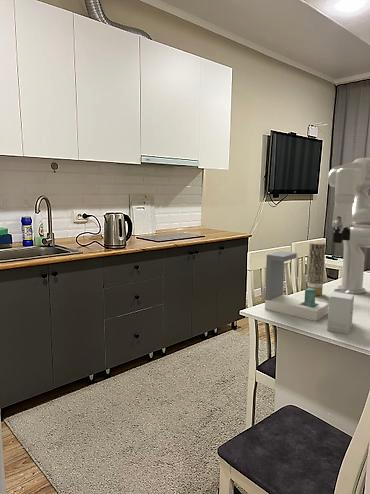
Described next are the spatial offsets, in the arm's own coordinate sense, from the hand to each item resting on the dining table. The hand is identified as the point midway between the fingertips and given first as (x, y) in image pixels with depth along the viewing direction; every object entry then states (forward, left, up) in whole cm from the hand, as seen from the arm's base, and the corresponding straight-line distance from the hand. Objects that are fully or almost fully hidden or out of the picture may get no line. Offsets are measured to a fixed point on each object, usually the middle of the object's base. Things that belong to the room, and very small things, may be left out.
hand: (341, 241), depth 153 cm
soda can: (+17, -5, -28) cm, 33 cm away
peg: (+9, -14, -28) cm, 33 cm away
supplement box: (+25, -7, -28) cm, 39 cm away
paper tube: (-20, -4, -28) cm, 35 cm away
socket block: (+6, -18, -28) cm, 34 cm away
